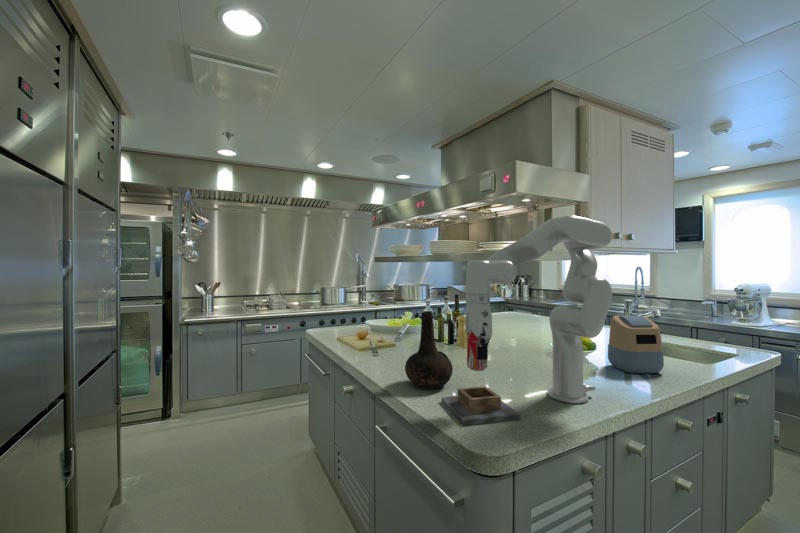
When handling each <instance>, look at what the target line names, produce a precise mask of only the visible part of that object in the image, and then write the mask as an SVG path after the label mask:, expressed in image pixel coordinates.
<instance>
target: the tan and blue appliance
mask: <svg viewBox="0 0 800 533" xmlns="http://www.w3.org/2000/svg"><path fill="white" fill-rule="evenodd" d="M607 359H608V362H609V363H610V365H611V366H612V367H615V368H616V369H618V370H620V369H621V371H622V370H623V372H625V373H627V372H628V373H627V374H631V373H636V374H653V373H656V374H658V373H660V372H661V371H663V369H664V366H665V364H664V363H665V362H664V361H665V360H664V351H663V344H662V335H661V330H660V326H659V325H658V324H656V323H655V322H653V320H651V319H650V318H647V317H646V316H643V315H642V316H641V315H614V316H612V318H611V322H610V328H609V337H608V345H607Z"/></svg>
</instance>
